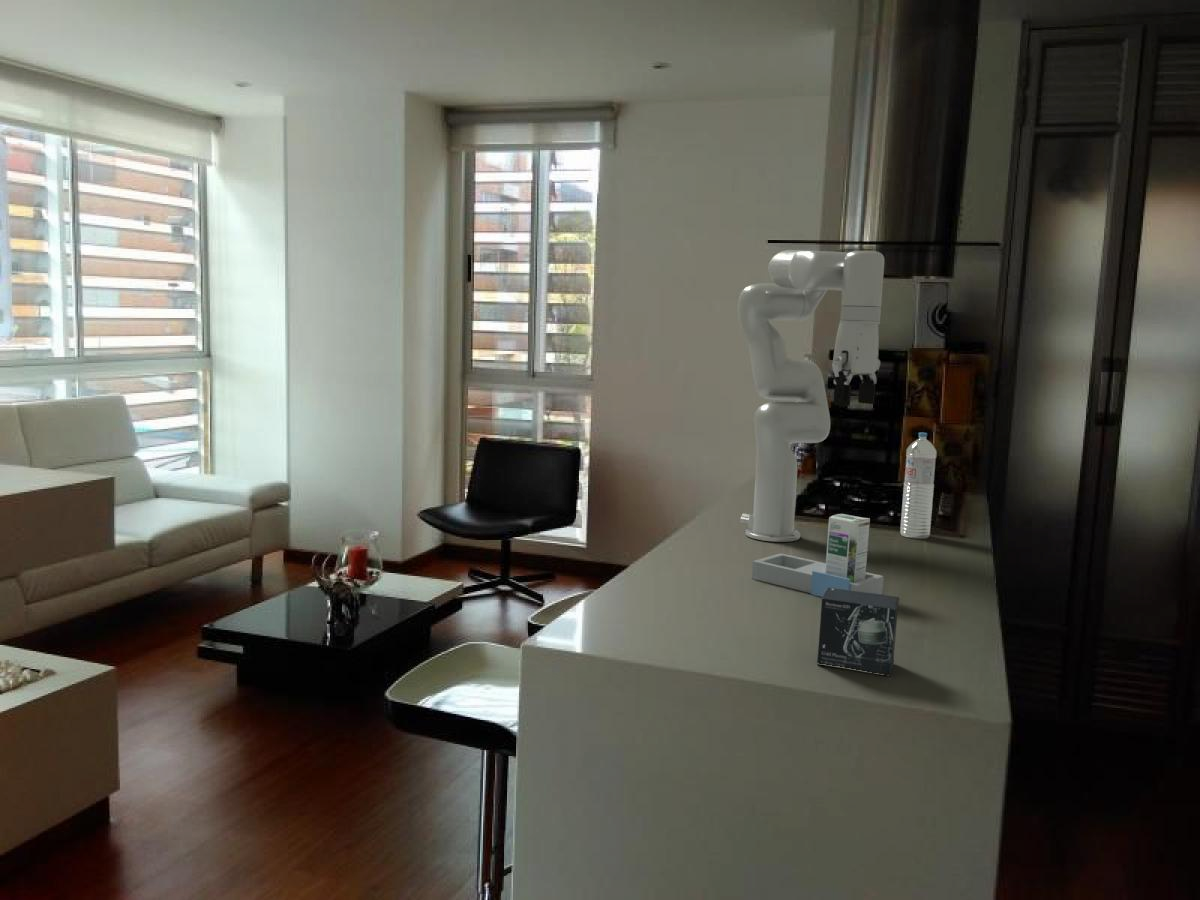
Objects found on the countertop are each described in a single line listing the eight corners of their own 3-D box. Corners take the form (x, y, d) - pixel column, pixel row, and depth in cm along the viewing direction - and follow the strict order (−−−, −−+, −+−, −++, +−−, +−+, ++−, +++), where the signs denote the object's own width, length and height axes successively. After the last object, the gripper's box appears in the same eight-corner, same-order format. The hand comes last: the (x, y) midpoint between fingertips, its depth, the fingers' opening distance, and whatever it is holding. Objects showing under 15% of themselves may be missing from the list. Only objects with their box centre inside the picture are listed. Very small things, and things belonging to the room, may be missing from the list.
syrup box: (822, 592, 179) (827, 516, 177) (838, 586, 184) (843, 512, 182) (850, 599, 175) (855, 521, 173) (865, 593, 180) (871, 517, 178)
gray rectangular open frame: (750, 579, 187) (751, 557, 186) (779, 570, 194) (780, 548, 194) (854, 605, 172) (856, 581, 171) (882, 594, 179) (883, 571, 179)
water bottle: (931, 540, 226) (940, 435, 223) (901, 538, 227) (909, 433, 224) (927, 534, 233) (936, 432, 229) (898, 532, 234) (906, 430, 231)
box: (815, 666, 140) (820, 597, 139) (822, 652, 147) (826, 586, 145) (891, 678, 137) (896, 607, 135) (894, 663, 143) (899, 595, 141)
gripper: (863, 316, 194) (857, 401, 197) (820, 314, 182) (814, 404, 184) (898, 317, 189) (892, 404, 192) (856, 315, 177) (849, 408, 179)
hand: (854, 404), depth 188 cm, fingers open, 9 cm apart
